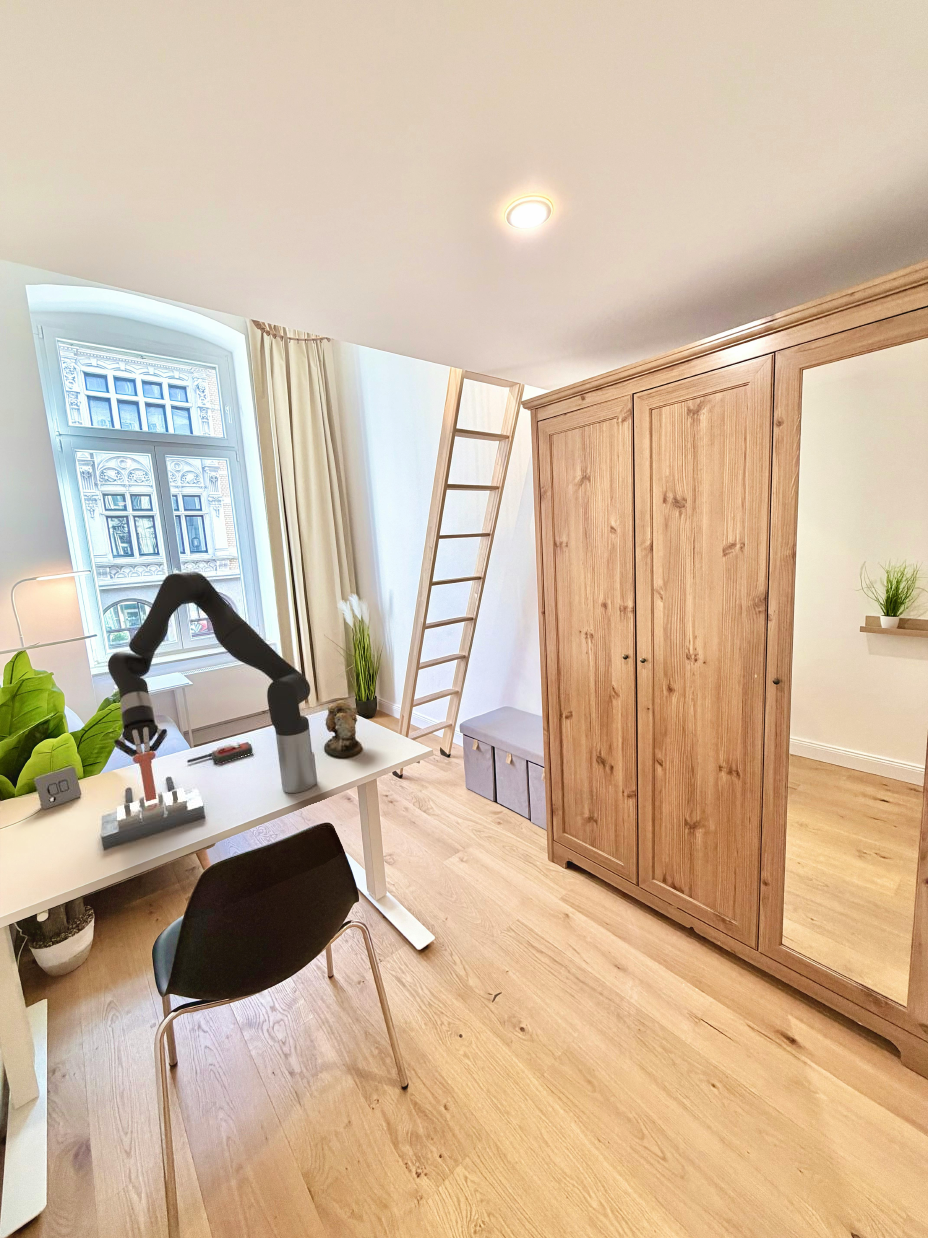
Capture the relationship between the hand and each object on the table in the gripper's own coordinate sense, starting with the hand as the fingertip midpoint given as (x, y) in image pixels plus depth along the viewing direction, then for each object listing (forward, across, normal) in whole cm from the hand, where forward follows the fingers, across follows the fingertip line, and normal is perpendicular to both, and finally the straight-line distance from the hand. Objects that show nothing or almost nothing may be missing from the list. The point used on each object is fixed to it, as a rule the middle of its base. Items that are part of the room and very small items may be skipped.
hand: (146, 766), depth 135 cm
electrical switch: (-9, -22, +28) cm, 37 cm away
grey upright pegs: (+3, 0, +15) cm, 16 cm away
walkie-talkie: (-8, +21, +28) cm, 36 cm away
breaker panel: (+14, 0, +4) cm, 15 cm away
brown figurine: (+6, +56, +13) cm, 58 cm away
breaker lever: (+10, 0, 0) cm, 10 cm away
